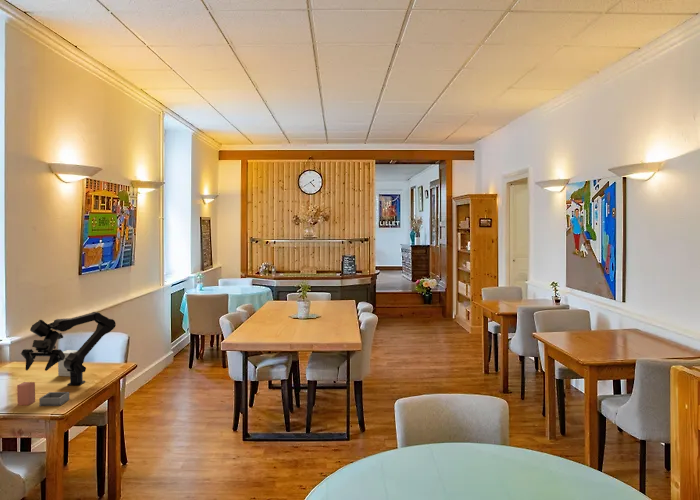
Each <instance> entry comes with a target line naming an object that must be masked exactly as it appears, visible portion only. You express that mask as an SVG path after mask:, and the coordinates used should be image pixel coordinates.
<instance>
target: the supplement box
mask: <svg viewBox="0 0 700 500" xmlns="http://www.w3.org/2000/svg"><path fill="white" fill-rule="evenodd" d="M77 351H78V350H77V349H76V350H75V349H74V350H73V349H67V350H64V351H63V350H62V352H63V353H64V354H65V358H66V357H68V355H69V354H70V353H76V352H77ZM65 358H64V360H61V361H60V362H57V364H58V366H57V369H58V370H57V371H58V373H57V374H58V375H57V376H61V377H70V372H69V371H67V369H66V368H65V367H64V361H65V360H66V359H65Z"/></svg>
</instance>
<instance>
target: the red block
mask: <svg viewBox="0 0 700 500" xmlns="http://www.w3.org/2000/svg"><path fill="white" fill-rule="evenodd" d="M16 388H17V389H16V391H17V392H16V395H17V398H16V399H17V406H30V405H32V404H34V403H35V402H36V382H34V381H31V382H30V381H24V382H21V383H19V384H17V386H16Z"/></svg>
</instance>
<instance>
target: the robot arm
mask: <svg viewBox="0 0 700 500" xmlns="http://www.w3.org/2000/svg"><path fill="white" fill-rule="evenodd" d="M89 322H95V323H96V324H97V325H96V329H95V331H94V332H93V333H92V334H91V335H90V336H89V338H87V340H86V341H85V342H84V343H83V344H82V345H81V347H79V349H78V350H77V352H76V353H70V354H69V355H68V357H66V358H65V354H64V353H63V350H62V349H58V348H57V349H56V344H57V342H58V340H60V339H63V338H64V335H63V334H62V333H63V332H67V331H69V330H71V329H73V328H74V327H76V326H79V325H83V324H87V323H89ZM116 324H117V323H116V321H115V320H114V318H109V317H107V316H105V315H103V314H102V313H100V312H99V311H92V312H89V313H86V314H82V315H79V316H78V315H77V316H74V317H70V318H57V319H54V320H53V322H50V323H47V322H45V321H44V320H43V319H39V320H38V321H36V322H35V323H32V325H31V327H30V330H29V331H30V332H31V333H33V334H34V335H36V336H37V337H39V338H43V337H44V338H43V339H42V340H41V339H33V343H32V345H31V347H32V348H35V351H34V350H33V349H32V348H28V349H27V348H24V349H22V351H21V353H20V354H21V355H22V357H23V358H24V359H25V371H29V370H30V368H31V367H32V365H33V364H34V362H35V359H36V358H37V357H46V358H47V357H49V360H48V361H47V363H46V366H45V368H44V371H45V372H47V371H48V370H50V369H51V368H52V367H53V366H54V365H57V364H58V362H60V361H61V360H64V358H65V359H66V360H65V361H64V367H65V368H66V369H67V371H69V372H70V376H69V383H67V386H81V385H82V384H84V383H86V380H83V379H84V378H83V376H84V375H83V373H86V369H87V367H86V366H84V365H83V363H84V362H85V358H86V356H88V354H89V353H90V351H92V349H93V348H94V347H95V346H96V345H97V344H98V343H99V342H100V340H101V339H102V338H103V337H104V336H105V335H107V334H109V333H111V332H112V330H114V329H115V328H116Z"/></svg>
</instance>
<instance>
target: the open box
mask: <svg viewBox="0 0 700 500" xmlns="http://www.w3.org/2000/svg"><path fill="white" fill-rule="evenodd" d="M38 400H39V402H38V403H39V404H38V405H39V407H59V406H62V405H63V404H65V403H66V402H68V401H69V400H70V391H62V392H61V391H49V392H48V393H45V394H44V395H43V396H41V397H39V399H38Z"/></svg>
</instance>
